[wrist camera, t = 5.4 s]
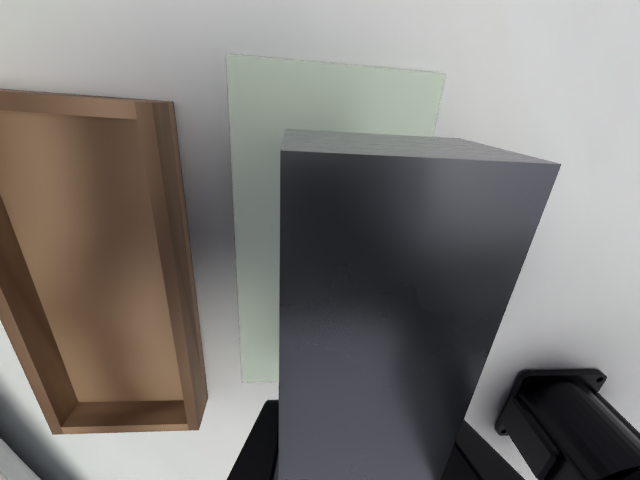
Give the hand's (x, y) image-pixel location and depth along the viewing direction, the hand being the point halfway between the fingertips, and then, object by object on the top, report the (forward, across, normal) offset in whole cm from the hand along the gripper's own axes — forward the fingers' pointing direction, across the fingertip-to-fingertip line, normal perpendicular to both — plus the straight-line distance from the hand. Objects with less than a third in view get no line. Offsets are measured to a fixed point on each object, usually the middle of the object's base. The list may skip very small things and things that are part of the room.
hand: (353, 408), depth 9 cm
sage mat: (+9, 0, 0) cm, 9 cm away
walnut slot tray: (+9, +11, +2) cm, 14 cm away
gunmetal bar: (+2, 0, 0) cm, 2 cm away
